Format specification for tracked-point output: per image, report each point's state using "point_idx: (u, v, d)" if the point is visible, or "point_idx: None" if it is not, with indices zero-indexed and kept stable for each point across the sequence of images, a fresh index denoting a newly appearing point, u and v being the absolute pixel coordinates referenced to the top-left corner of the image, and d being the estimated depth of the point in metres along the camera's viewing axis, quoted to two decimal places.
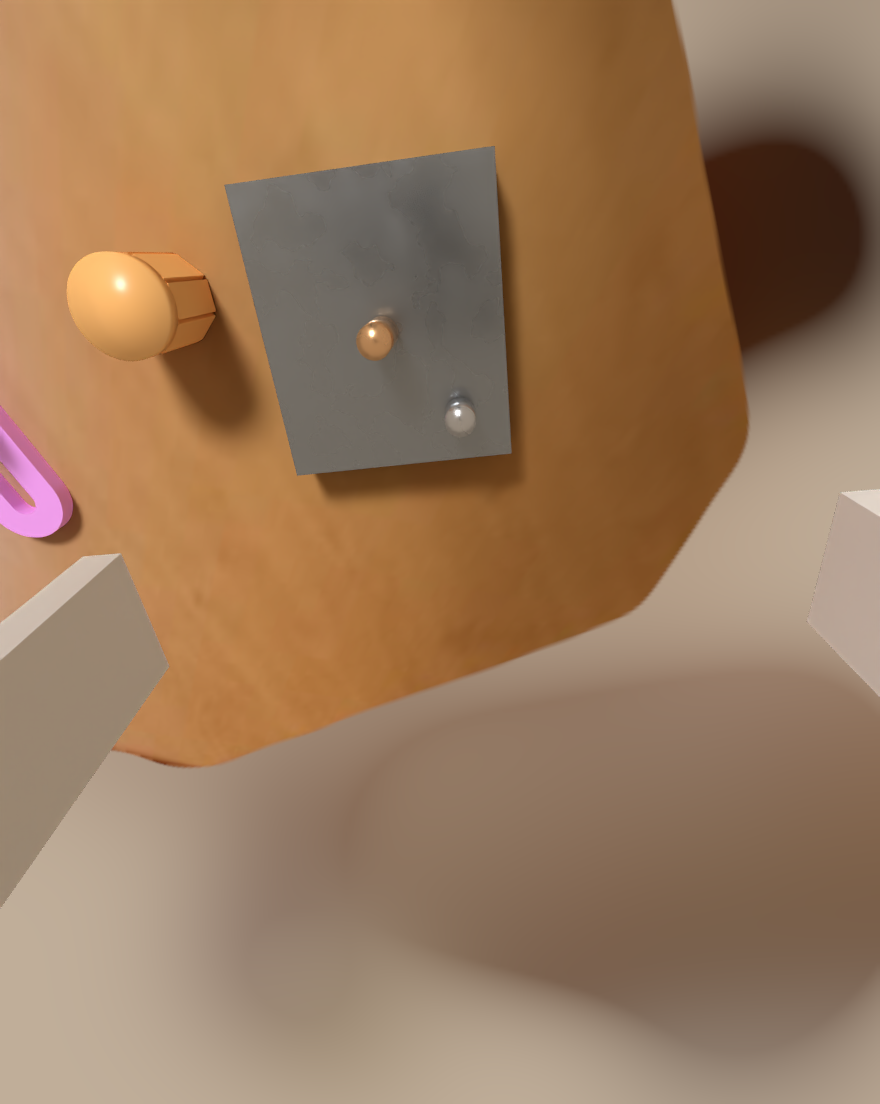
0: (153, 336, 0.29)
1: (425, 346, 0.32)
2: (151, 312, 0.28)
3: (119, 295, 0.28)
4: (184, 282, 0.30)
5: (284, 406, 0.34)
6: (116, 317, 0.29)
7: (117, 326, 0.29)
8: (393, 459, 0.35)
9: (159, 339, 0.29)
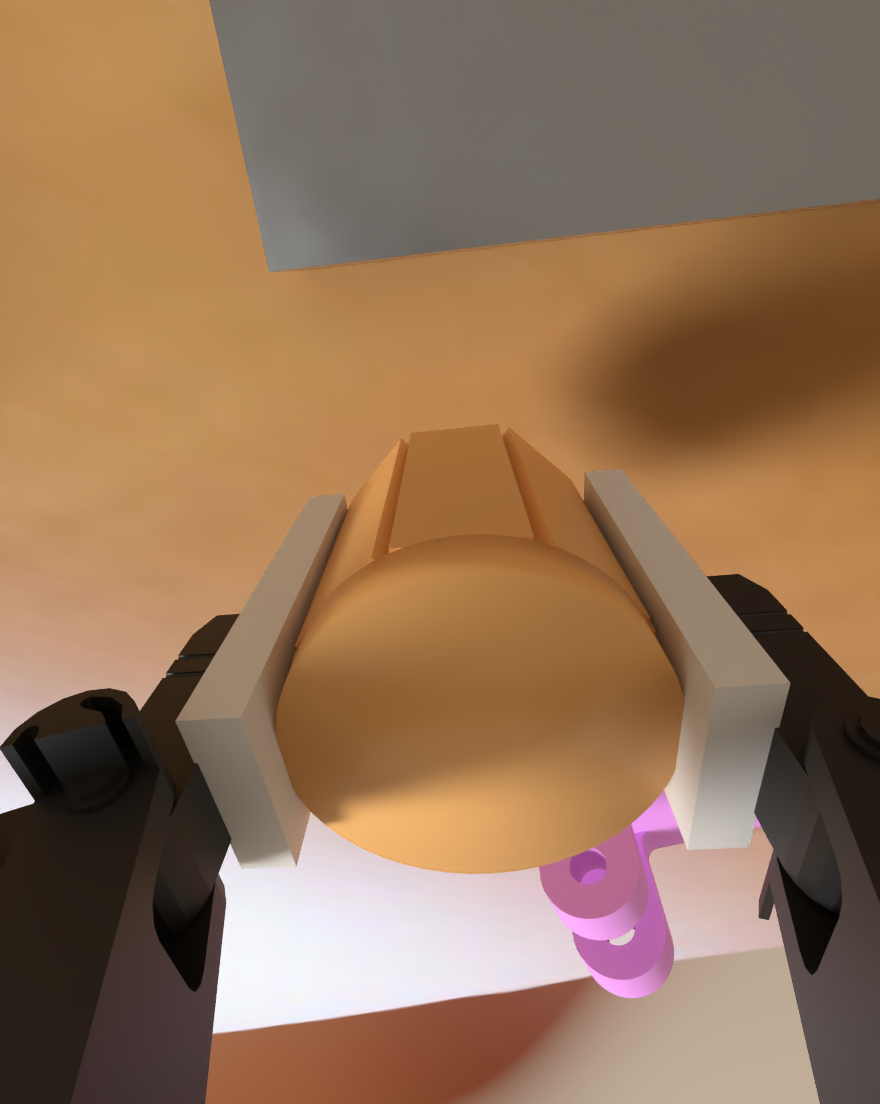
0: (600, 660, 0.06)
1: None
2: (500, 646, 0.06)
3: (430, 737, 0.07)
4: (404, 489, 0.09)
5: (764, 197, 0.12)
6: (510, 763, 0.07)
7: (543, 767, 0.07)
8: None
9: (617, 640, 0.06)
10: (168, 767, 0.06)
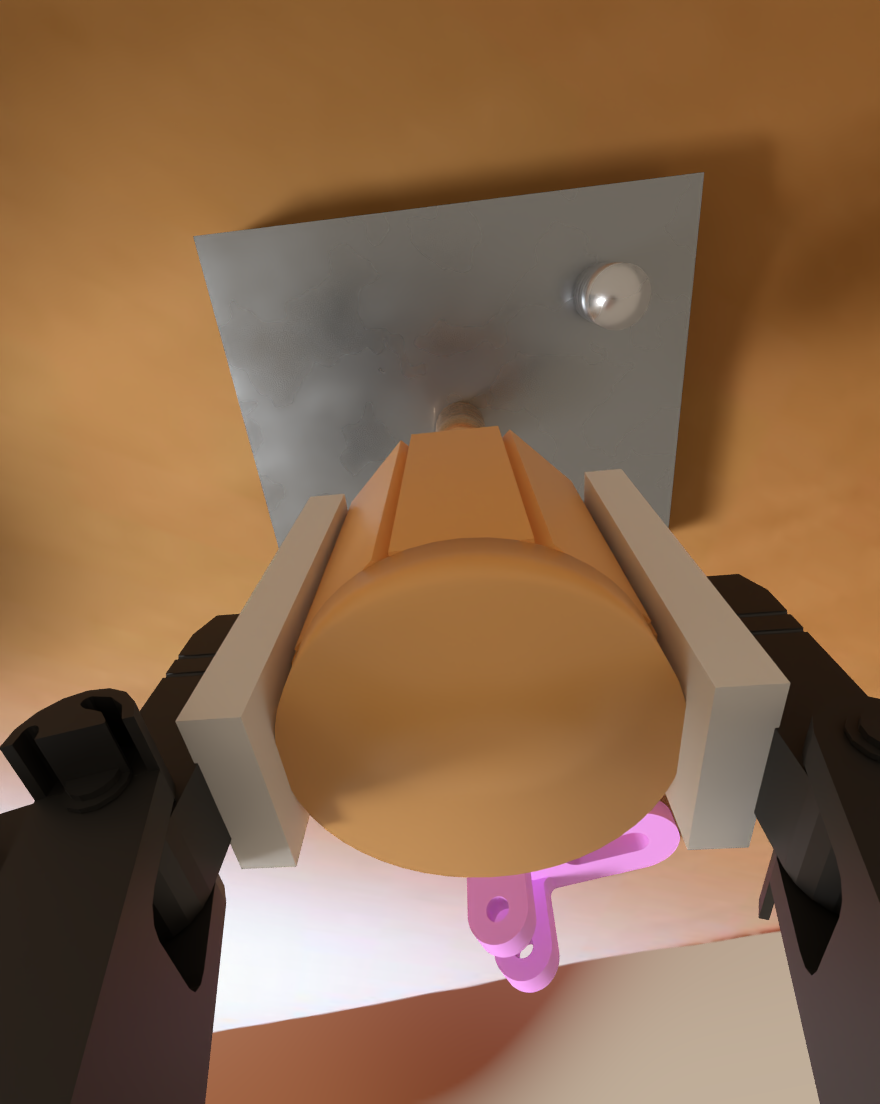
0: (601, 664, 0.06)
1: (483, 357, 0.19)
2: (501, 650, 0.06)
3: (430, 741, 0.07)
4: (403, 492, 0.09)
5: None
6: (510, 767, 0.07)
7: (543, 771, 0.07)
8: (667, 420, 0.20)
9: (618, 644, 0.06)
10: (168, 767, 0.06)
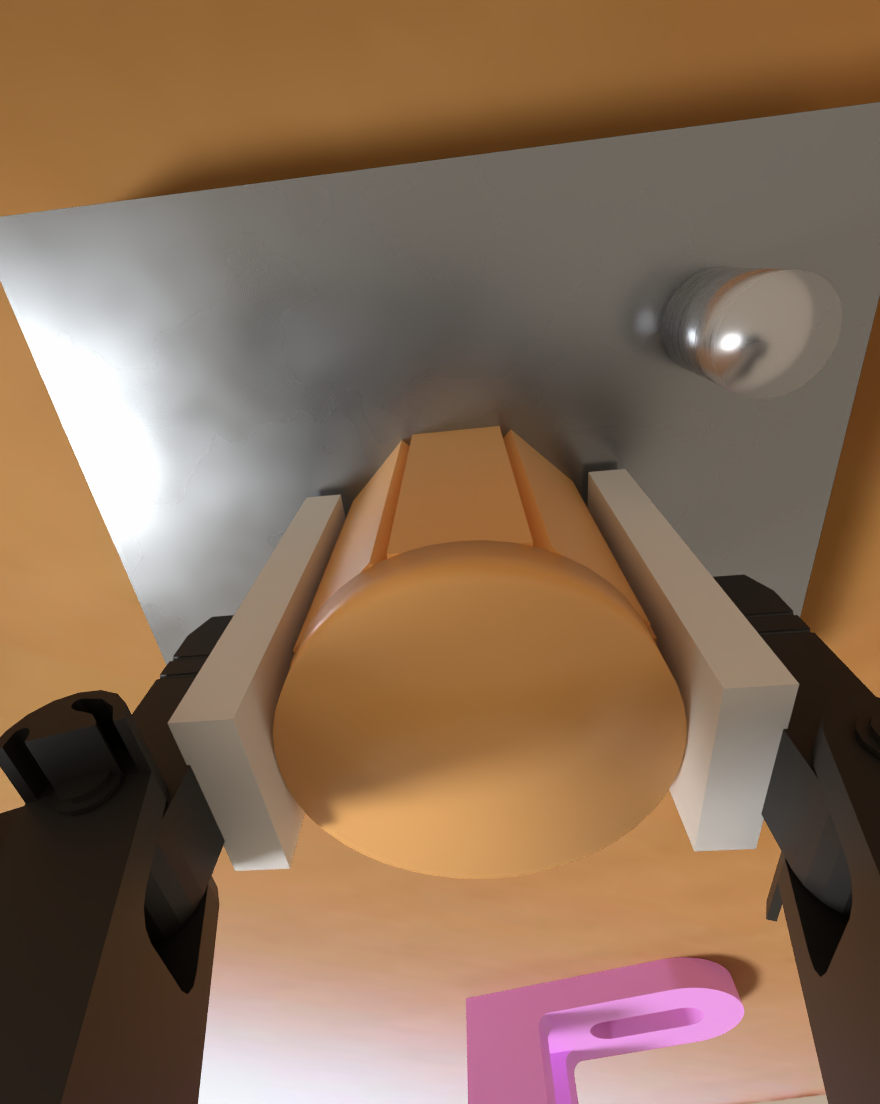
0: (599, 667, 0.06)
1: None
2: (498, 653, 0.06)
3: (428, 743, 0.07)
4: (403, 493, 0.09)
5: None
6: (508, 770, 0.07)
7: (541, 774, 0.07)
8: (803, 527, 0.12)
9: (616, 648, 0.06)
10: (160, 769, 0.06)
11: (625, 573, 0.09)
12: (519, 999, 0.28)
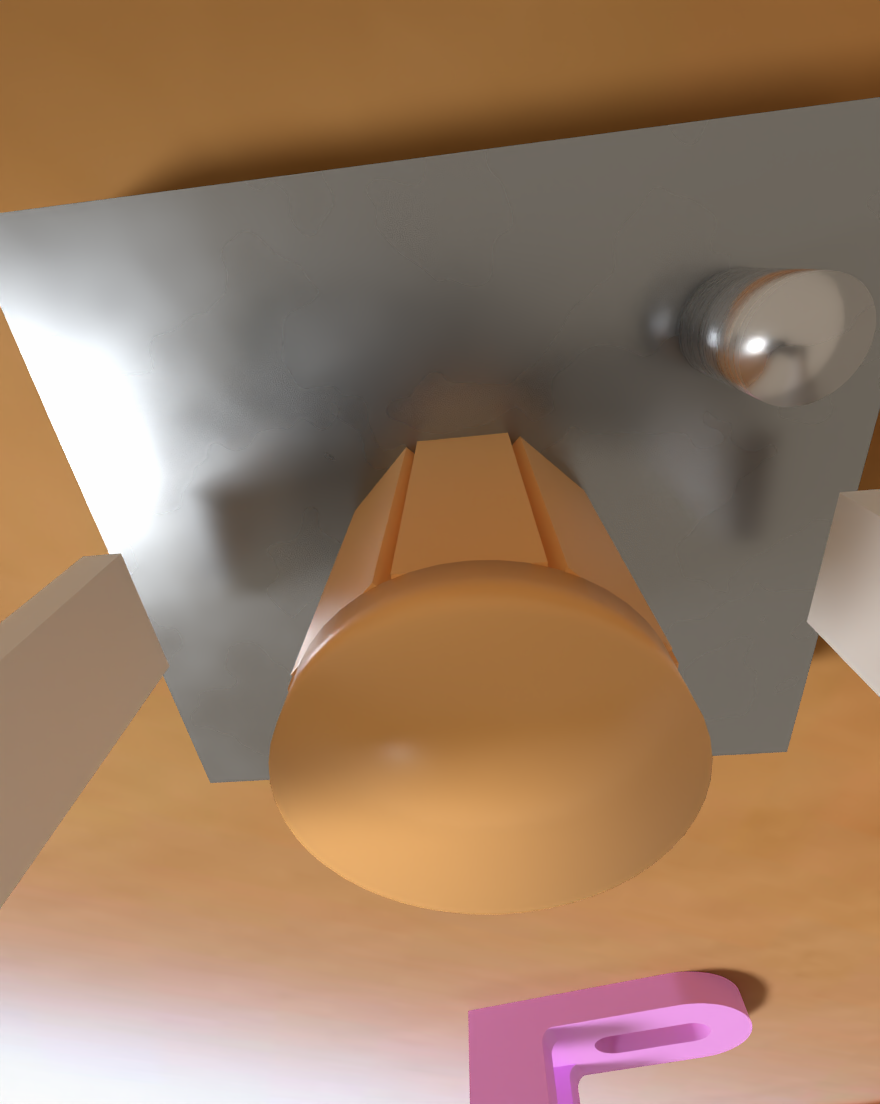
0: (619, 699, 0.06)
1: (509, 435, 0.11)
2: (511, 683, 0.06)
3: (434, 776, 0.06)
4: (408, 505, 0.08)
5: None
6: (520, 804, 0.07)
7: (555, 809, 0.07)
8: (824, 538, 0.12)
9: (638, 679, 0.06)
10: None
11: None
12: (522, 1012, 0.27)
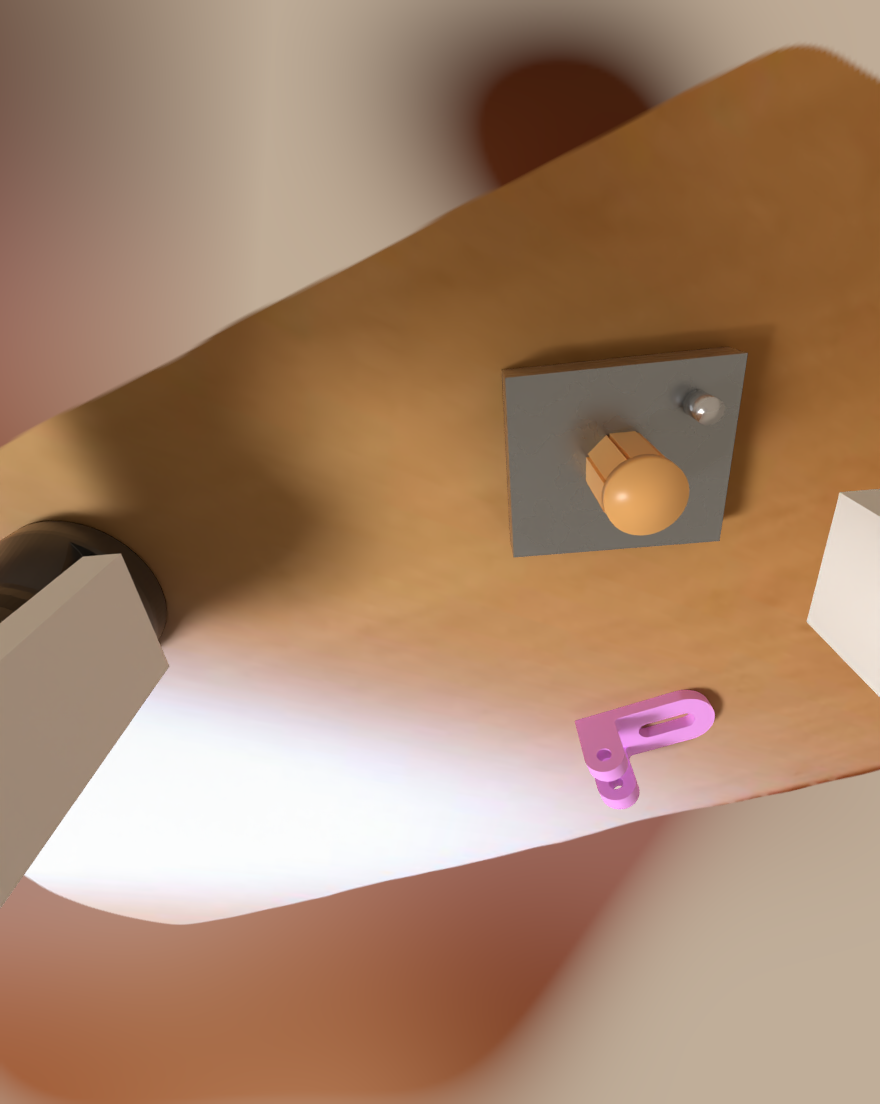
0: (673, 476, 0.34)
1: None
2: (654, 473, 0.34)
3: (637, 495, 0.35)
4: (622, 447, 0.36)
5: (661, 542, 0.43)
6: (652, 502, 0.35)
7: (659, 503, 0.35)
8: (725, 462, 0.40)
9: (676, 472, 0.34)
10: None
11: None
12: (603, 716, 0.55)
